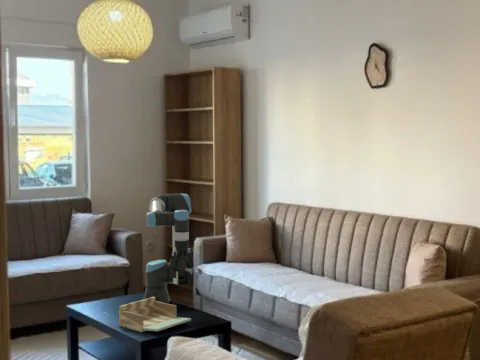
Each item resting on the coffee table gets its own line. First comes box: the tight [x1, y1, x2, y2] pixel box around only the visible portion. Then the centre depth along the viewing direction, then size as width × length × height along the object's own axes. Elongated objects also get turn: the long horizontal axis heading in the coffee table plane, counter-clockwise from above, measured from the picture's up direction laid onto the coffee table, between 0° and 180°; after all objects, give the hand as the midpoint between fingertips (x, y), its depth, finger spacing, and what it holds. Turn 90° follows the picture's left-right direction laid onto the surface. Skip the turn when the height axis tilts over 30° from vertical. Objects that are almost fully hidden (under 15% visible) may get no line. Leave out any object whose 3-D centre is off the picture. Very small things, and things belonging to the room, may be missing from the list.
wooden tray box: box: [118, 297, 177, 333], centre depth 329 cm, size 24×16×10 cm
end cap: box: [172, 269, 193, 286], centre depth 344 cm, size 10×7×7 cm
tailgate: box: [143, 316, 192, 332], centre depth 321 cm, size 24×1×10 cm
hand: (181, 282), depth 344 cm, fingers closed on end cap, 9 cm apart
